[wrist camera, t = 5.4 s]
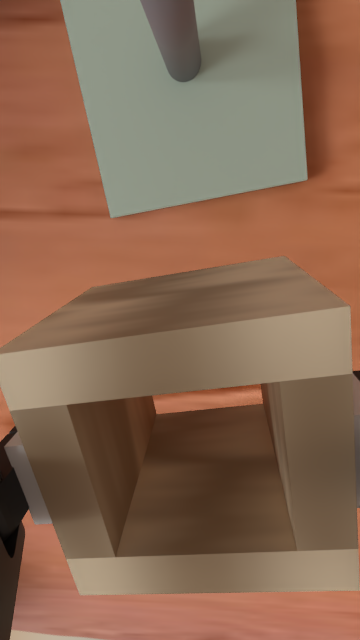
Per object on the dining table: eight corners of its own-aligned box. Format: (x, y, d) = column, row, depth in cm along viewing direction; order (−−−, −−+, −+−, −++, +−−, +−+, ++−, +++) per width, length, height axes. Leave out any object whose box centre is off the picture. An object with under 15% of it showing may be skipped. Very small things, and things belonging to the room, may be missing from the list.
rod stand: (116, 217, 28) (31, 227, 16) (54, -56, 23) (-149, -373, 10) (302, 181, 26) (381, 158, 13) (281, -133, 21) (377, -669, 8)
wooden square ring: (133, 443, 17) (79, 595, 10) (92, 287, 15) (-12, 355, 8) (299, 428, 16) (359, 590, 9) (284, 256, 13) (350, 306, 7)
